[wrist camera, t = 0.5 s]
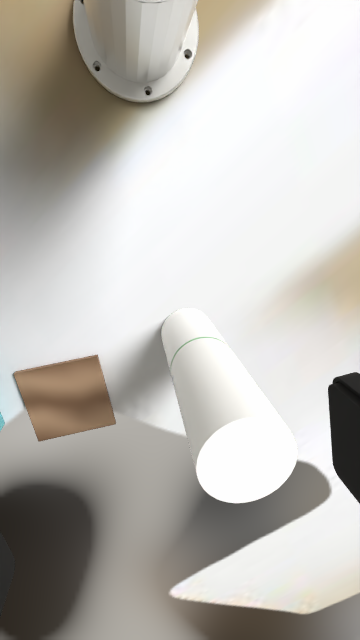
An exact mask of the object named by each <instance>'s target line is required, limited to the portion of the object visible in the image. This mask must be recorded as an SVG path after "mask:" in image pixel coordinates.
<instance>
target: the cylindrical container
mask: <svg viewBox="0 0 360 640" xmlns="http://www.w3.org/2000/svg"><path fill="white" fill-rule="evenodd" d="M161 337H162V342H163V346H164V350H165V353H166V357H167V361H168V365H169V369H170V373H171V377H172V381H173V384H174V388H175V392H176V396H177V400H178V404H179V408H180V412H181V415H182V419H183V423H184V427H185V431H186V435H187V439H188V443H189V446H190V450H191V454H192V458H193V462H194V466H195V470H196V474H197V477H198V480H199V483H200V484H201V486H202V487H203V489H204V490H205V491H206V492H207V493H208V494H210V495H211V496H213V497H215V498H216V499H218V500H221V501H225V502H231V503H244V502H249V501H254V500H257V499H260V498H263V497H264V496H267V495H269V494H271V493H272V492H273V491H275V490H276V489H278V488H279V487H280V486H281V485H282V484H283V483H284V482H285V481H286V480H287V478H288V477H289V476H290V474H291V473H292V471H293V468H294V467H295V464H296V460H297V453H298V448H297V443H296V440H295V438H294V435H293V434H292V432H291V431H290V430H289V428H288V427H287V425H286V424H285V423H284V421H283V420H282V419H281V417H280V416H279V414H278V413H277V412H276V410H275V409H274V408H273V406H272V405H271V404H270V402H269V401H268V399H267V398H266V397H265V395H264V394H263V393H262V391H261V390H260V388H259V387H258V386H257V384H256V383H255V382H254V380H253V379H252V377H251V376H250V375H249V373H248V372H247V371H246V369H245V368H244V366H243V365H242V364H241V362H240V361H239V360H238V358H237V357H236V356H235V354H234V353H233V351H232V350H231V349H230V347H229V346H228V345H227V343H226V342H225V340H224V339H223V338H222V336H221V335H220V334H219V332H218V331H217V330H216V328H215V327H214V325H213V324H212V323H211V321H210V320H209V319H208V317H207V316H206V315H205V314H204V313H203V312H201V311H199V310H197V309H193V308H183V309H179V310H177V311H175V312H173V313H172V314H171V315H169V316H168V318H167V319H166V320H165V322H164V324H163V326H162V330H161Z"/></svg>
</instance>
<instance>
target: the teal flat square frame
mask: <svg viewBox="0 0 360 640" xmlns="http://www.w3.org/2000/svg"><path fill="white" fill-rule="evenodd" d="M4 424H5V422H4V420H3V417H2V415H1V413H0V431H1V429H2V428H3V426H4Z"/></svg>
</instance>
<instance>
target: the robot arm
mask: <svg viewBox="0 0 360 640" xmlns="http://www.w3.org/2000/svg"><path fill="white" fill-rule="evenodd" d="M83 1H84V4H82V2H83ZM197 2H198V0H74V5H73V25H74V32H75V38H76V41H77V45H78V48H79V51H80V53H81V56H82V58H83V61H84V62H85V64H86V66H87V68H88V69H89V71H90V73H91V74H92V75H93V76H94V78H95V79H96V80H97V81H98V82H99V83H100V84H101V85H102V86H103V87H104V88H105V89H107V90H108V91H109V92H111V93H112V94H114V95H116V96H117V97H119V98H122V99H125V100H128V101H132V102H140V103H142V102H152V101H155V100H158V99H162V98H164V97H165V96H167V95H169V94H170V93H172V92H173V91H174V90H175V89H176V88H177V87H178V86H180V84H181V83H182V82H183V80H184V79H185V78H186V76H187V74H188V72H189V70H190V68H191V66H192V64H193V61H194V59H195V56H196V51H197V46H198V38H199V24H198V15H197V11H196V5H197ZM185 55H187V56H188V57H189V59H186V58H185ZM96 67H99V68H100V71H96V70H95V68H96ZM146 91H149V92H150V95H146V93H145V92H146ZM328 396H329V411H330V427H331V442H332V457H333V466H334V469H335V471H336V473H337V475H338V476H339V478H340V479H341V480H342V482H343V483H344V484H345V486H346V487H347V488H348V489H349V491H350V492H351V493H352V494H353V496H354V497H355V498H356V500H357V501H358V502H359V503H360V374H359V373H357V372H354V373H350V374H347V375H343V376H339V377H336V378H334V380H333V384H331V385H329V387H328ZM14 570H15V560H14V556H13V554H12V552H11V550H10V548H9V547H8V545H7V543H6V541H5V539H4V538H3V536H2V534H1V532H0V616H1V613H2V610H3V606H4V603H5V600H6V597H7V594H8V590H9V587H10V584H11V581H12V578H13V574H14Z"/></svg>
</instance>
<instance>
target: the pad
mask: <svg viewBox="0 0 360 640" xmlns="http://www.w3.org/2000/svg"><path fill="white" fill-rule="evenodd" d="M14 377H15V379H16V382H17V385H18V387H19V390H20V393H21V395H22V398H23V401H24V403H25V406H26V409H27V411H28V414H29V417H30V419H31V422H32V425H33V427H34V430H35V433H36V436H37V438H38V441H43V440H48V439H51V438H56V437H61V436H65V435H70V434H74V433H78V432H83V431H87V430H91V429H96V428H101V427H105V426H110V425H114V424H116V421H115V417H114V413H113V410H112V406H111V402H110V399H109V395H108V391H107V388H106V384H105V380H104V376H103V373H102V369H101V365H100V362H99V358H98V355H94V356H89V357H84V358H79V359H74V360H69V361H65V362H60V363H55V364H50V365H45V366H41V367H36V368H31V369H26V370H21V371H16V372H14Z"/></svg>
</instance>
